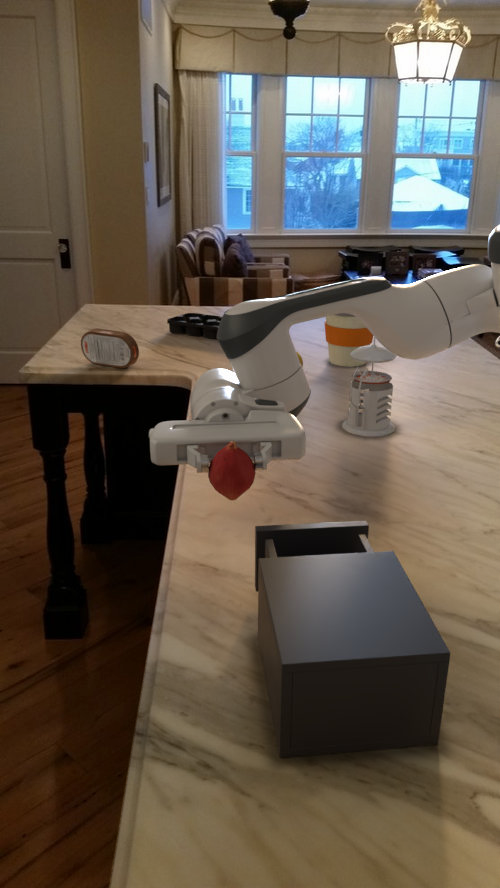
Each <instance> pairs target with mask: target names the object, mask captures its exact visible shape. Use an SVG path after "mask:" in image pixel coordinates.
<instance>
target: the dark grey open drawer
mask: <svg viewBox="0 0 500 888" xmlns="http://www.w3.org/2000/svg"><path fill="white" fill-rule="evenodd" d="M369 529H370V525H369V524H368V521H367V520H349V521H346V520H345V521H328V522H309V523H294V524H293V523H290V524H289V523H287V524H270V525H269V524H268V525H255V527H254V588H255V592H256V593H258V567H259V566H258V563H259V558H276V557H294V556H312V555H330V554H348V553H367V552H375V551H374V549H373V547H372V546H371V544H370V541H369Z"/></svg>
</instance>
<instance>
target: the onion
mask: <svg viewBox="0 0 500 888" xmlns="http://www.w3.org/2000/svg"><path fill="white" fill-rule="evenodd" d="M207 477H208V480H209V483H210V484H211V486H212V488H213V489H214V490H215V491H216V492H217V493H218V494H220V495H221V496H223V497H225V498H226V499H228V501H236V500H238V498H239V497H241V496H242V495H243V494H245V493H246V492H247V491H248V490H249V489H251V488H252V486H253V484H254V481H255V477H256V470H255V466H254V461H252V460H251V458H250V457H249V455H248V454H247V453H246V452H245V451H243V450H242V449H240V448H239V447H237V446H236V442H235V441H230V442H229V444H228V445H226V446H225V447H224V448H222V449H221V450H219V451H218V452H217V454H216V455H215V456H214V458H213V459H212V460H211V462H210V463H209V472H207Z"/></svg>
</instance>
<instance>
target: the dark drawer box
mask: <svg viewBox="0 0 500 888" xmlns="http://www.w3.org/2000/svg"><path fill="white" fill-rule="evenodd" d="M258 566H259V567H258V592H257V602H258V603H257V641H258V647H259V653H260V657H261V664H262V669H263V675H264V679H265V687H266V691H267V696H268V702H269V707H270V713H271V719H272V723H273V729H274V736H275V741H276V745H277V751H278V757H279V758H281V759H282V758H283V759H284V758H293V757H295V758H296V757H306V756H307V757H308V756H317V755H318V756H319V755H330V754H331V755H332V754H342V753H355V752H365V751H376V750H377V751H378V750H389V749H402V748H415V747H426V746H437V745H439V740H440V733H441V725H442V720H443V719H442V717H443V711H444V705H445V704H444V703H445V697H446V689H447V682H448V675H449V669H450V668H449V667H450V659H451V651H450V649H449V647H448V646H447V644H446V642H445V641H444V639H443V637H442V635H441V633H440V631H439V630H438V628H437V626H436V625H435V624H436V623H435V622H434V621H433V619H432V617H431V615H430V613H429V612H428V610H427V608H426V607H425V605H424V603H423V601H422V599H421V598H420V596H419V594H418V592H417V591H416V589H415V587H414V585H413V583H412V582H411V580H410V578H409V577H408V574H407V572H406V571H405V569H404V567H403V565H402V564H401V562H400V560H399V558H398V557H397V555H396V553H395V551H394V550H388V551H386V550H385V551H374V552H367V553H348V554H330V555H312V556H294V557H276V558H259V563H258Z"/></svg>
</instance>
